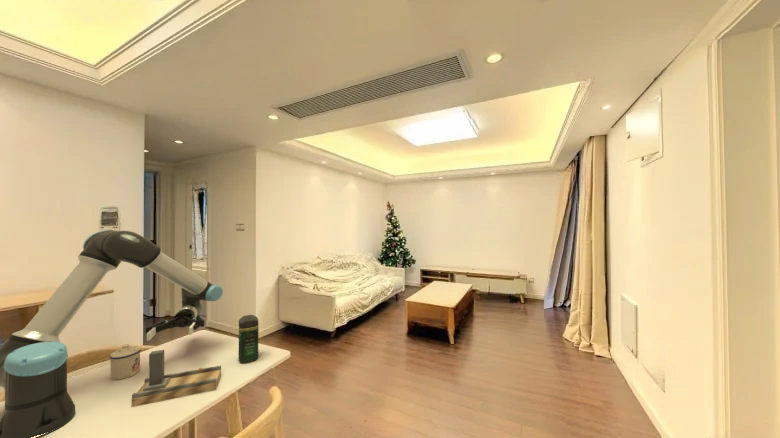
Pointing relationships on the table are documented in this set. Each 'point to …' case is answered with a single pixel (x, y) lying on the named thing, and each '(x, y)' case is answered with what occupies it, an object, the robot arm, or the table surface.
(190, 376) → the fader console
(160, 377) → the fader tab
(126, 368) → the teacup with lid
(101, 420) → the table surface
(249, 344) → the coffee jar
